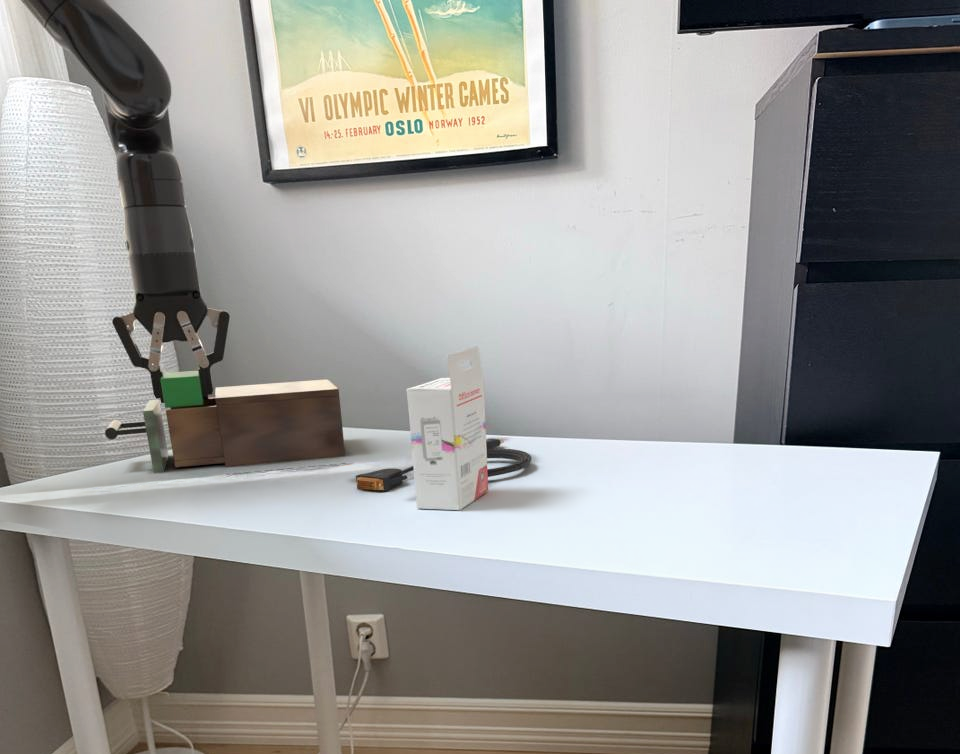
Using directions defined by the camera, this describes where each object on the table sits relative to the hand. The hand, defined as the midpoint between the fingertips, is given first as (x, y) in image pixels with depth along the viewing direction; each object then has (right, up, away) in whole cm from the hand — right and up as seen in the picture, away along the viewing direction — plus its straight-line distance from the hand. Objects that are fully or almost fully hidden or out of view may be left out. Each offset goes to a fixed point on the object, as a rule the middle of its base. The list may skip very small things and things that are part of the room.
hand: (184, 400), depth 114 cm
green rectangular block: (0, 0, 0) cm, 0 cm away
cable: (+36, -10, -6) cm, 38 cm away
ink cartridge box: (+34, -16, -20) cm, 42 cm away
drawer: (0, -7, +3) cm, 8 cm away
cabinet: (+11, -6, +6) cm, 14 cm away
